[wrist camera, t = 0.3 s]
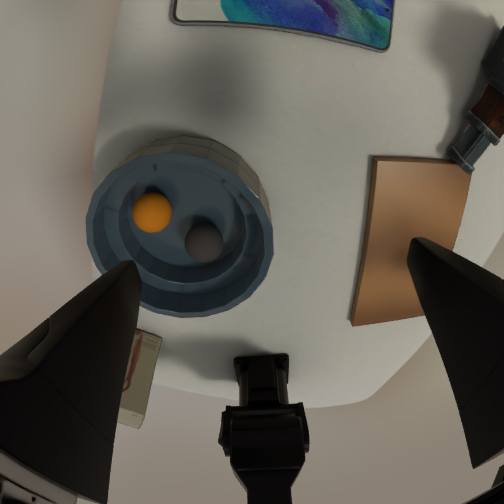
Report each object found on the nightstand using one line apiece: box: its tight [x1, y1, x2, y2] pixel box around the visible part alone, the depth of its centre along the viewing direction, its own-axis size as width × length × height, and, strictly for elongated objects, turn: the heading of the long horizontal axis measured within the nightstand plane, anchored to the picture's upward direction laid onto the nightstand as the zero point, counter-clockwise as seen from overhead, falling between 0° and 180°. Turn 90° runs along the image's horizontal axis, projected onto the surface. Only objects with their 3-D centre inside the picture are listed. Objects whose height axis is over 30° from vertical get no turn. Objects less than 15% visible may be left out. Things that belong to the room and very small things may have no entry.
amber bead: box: [132, 192, 172, 233], centre depth 22 cm, size 3×3×3 cm
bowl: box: [86, 136, 274, 318], centre depth 22 cm, size 13×13×5 cm
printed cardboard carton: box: [117, 329, 162, 429], centre depth 29 cm, size 5×4×10 cm
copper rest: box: [350, 157, 472, 327], centre depth 26 cm, size 18×10×1 cm, turn 4°
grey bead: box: [185, 223, 224, 262], centre depth 23 cm, size 3×3×3 cm
